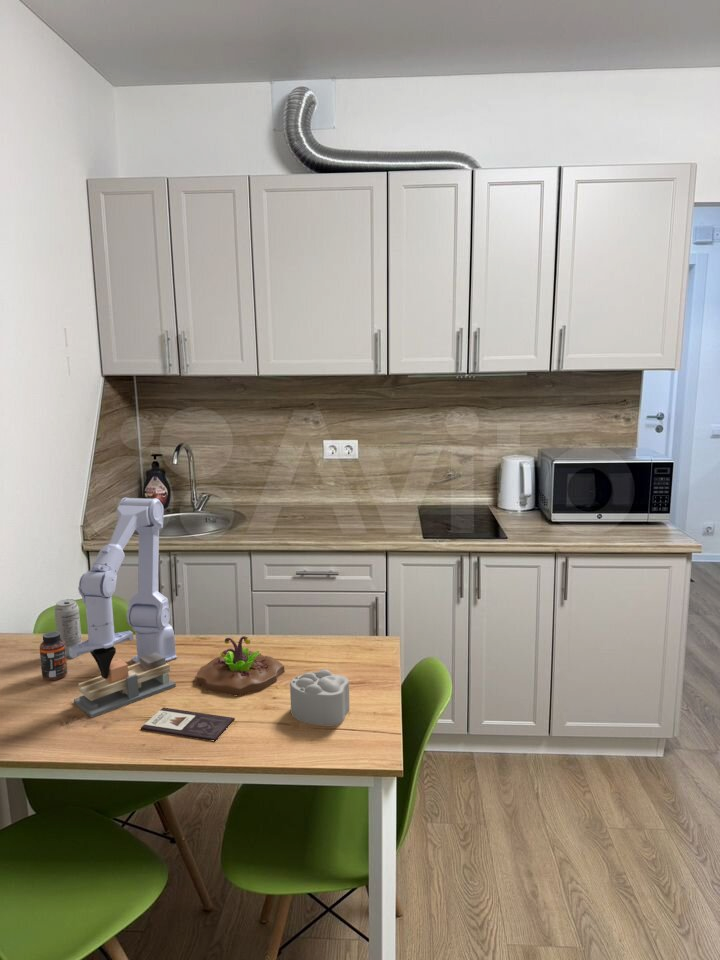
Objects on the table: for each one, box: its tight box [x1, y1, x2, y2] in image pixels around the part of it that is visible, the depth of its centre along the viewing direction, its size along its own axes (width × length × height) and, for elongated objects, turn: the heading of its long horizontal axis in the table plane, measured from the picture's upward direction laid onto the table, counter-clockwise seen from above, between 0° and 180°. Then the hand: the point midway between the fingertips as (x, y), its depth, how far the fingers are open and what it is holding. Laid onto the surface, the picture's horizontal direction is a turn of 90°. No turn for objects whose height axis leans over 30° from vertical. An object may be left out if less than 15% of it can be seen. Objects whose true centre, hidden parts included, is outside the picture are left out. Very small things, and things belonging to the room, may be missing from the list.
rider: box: [106, 658, 129, 684], centre depth 168 cm, size 4×4×4 cm
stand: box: [73, 672, 177, 719], centre depth 170 cm, size 21×10×6 cm, turn 133°
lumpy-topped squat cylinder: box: [289, 668, 351, 727], centre depth 160 cm, size 10×13×9 cm
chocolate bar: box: [140, 707, 236, 742], centre depth 156 cm, size 9×1×18 cm
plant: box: [195, 635, 286, 697], centre depth 178 cm, size 20×20×11 cm
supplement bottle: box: [39, 631, 68, 681], centre depth 179 cm, size 6×6×11 cm
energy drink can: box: [54, 598, 83, 660], centre depth 191 cm, size 6×6×15 cm
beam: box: [77, 652, 171, 701], centre depth 170 cm, size 20×6×5 cm, turn 135°
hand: (104, 677), depth 166 cm, fingers closed
